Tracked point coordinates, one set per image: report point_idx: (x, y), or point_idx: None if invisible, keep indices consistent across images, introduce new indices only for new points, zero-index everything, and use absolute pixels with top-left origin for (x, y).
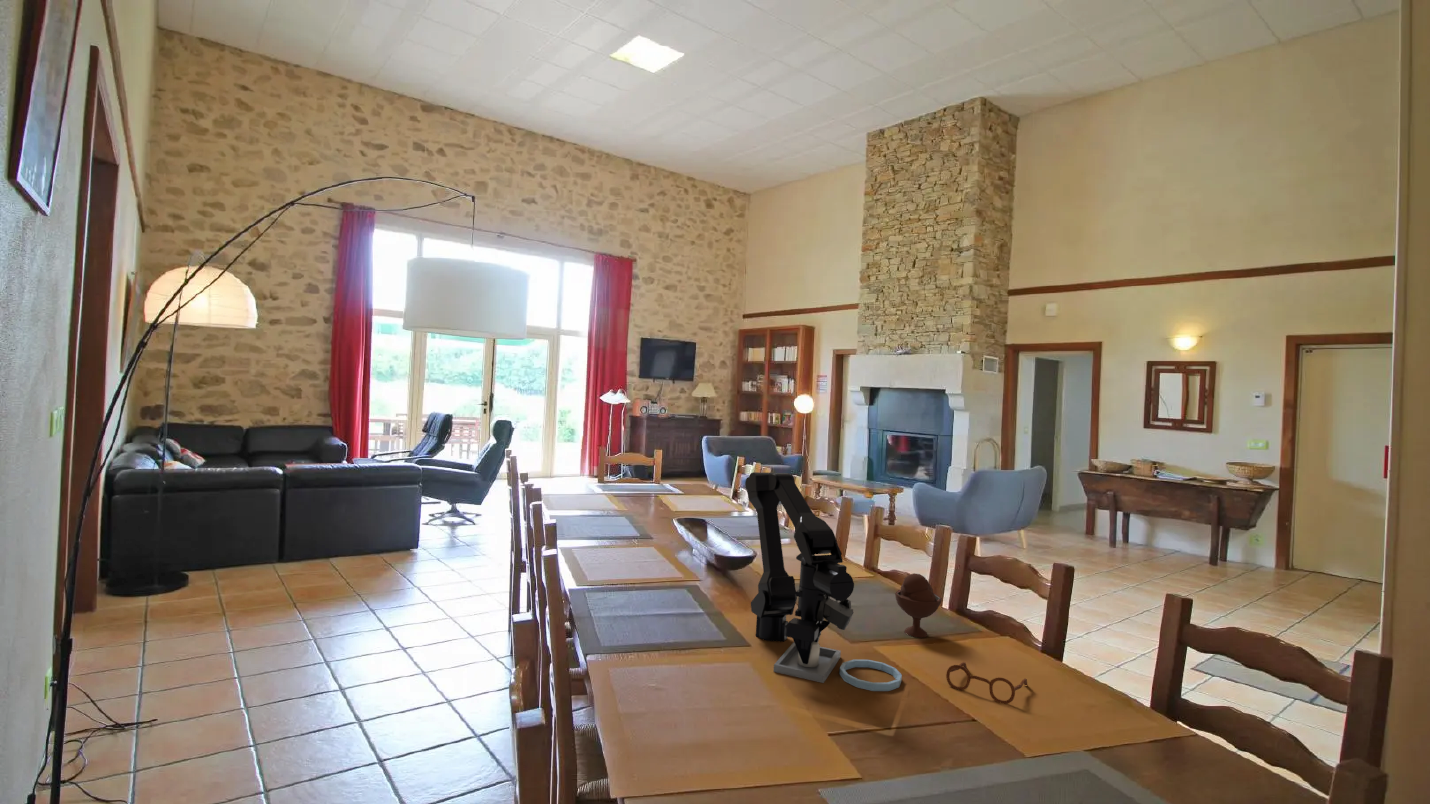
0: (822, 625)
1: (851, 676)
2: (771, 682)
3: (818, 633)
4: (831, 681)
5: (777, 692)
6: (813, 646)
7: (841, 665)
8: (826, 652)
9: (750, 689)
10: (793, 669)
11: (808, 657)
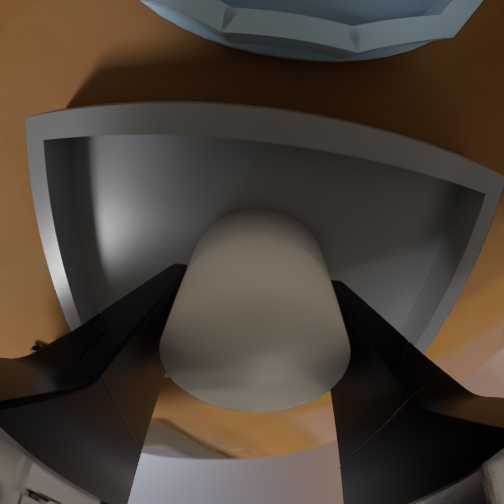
0: (38, 444)
1: (460, 3)
2: (439, 343)
3: (103, 380)
4: (401, 110)
5: (498, 310)
6: (296, 339)
7: (301, 39)
8: (62, 197)
9: (472, 364)
10: (439, 325)
11: (372, 308)
